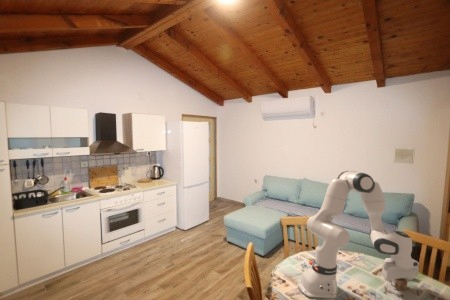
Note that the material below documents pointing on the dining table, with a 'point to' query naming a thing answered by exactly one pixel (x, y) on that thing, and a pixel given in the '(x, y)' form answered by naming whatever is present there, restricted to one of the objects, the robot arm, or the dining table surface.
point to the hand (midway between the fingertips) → (399, 284)
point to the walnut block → (400, 284)
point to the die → (386, 260)
